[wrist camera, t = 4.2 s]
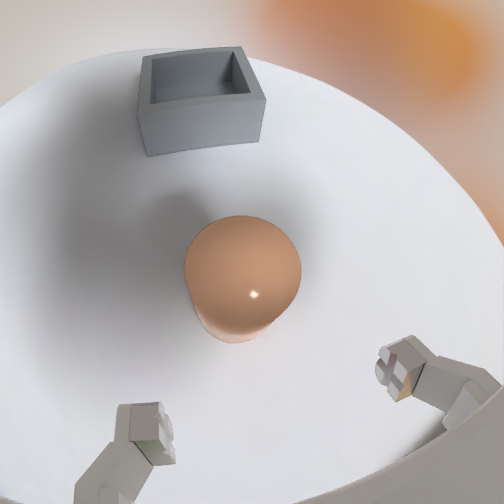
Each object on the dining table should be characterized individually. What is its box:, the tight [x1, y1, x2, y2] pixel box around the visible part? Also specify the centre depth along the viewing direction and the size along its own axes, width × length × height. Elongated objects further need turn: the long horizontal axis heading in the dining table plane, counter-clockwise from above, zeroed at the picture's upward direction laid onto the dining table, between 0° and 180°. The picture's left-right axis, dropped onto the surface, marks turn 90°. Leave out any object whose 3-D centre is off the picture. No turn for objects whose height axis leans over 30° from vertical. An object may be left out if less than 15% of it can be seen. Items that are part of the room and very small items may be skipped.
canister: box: [184, 216, 301, 343], centre depth 16 cm, size 5×5×8 cm
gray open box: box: [137, 47, 266, 157], centre depth 24 cm, size 10×10×5 cm
